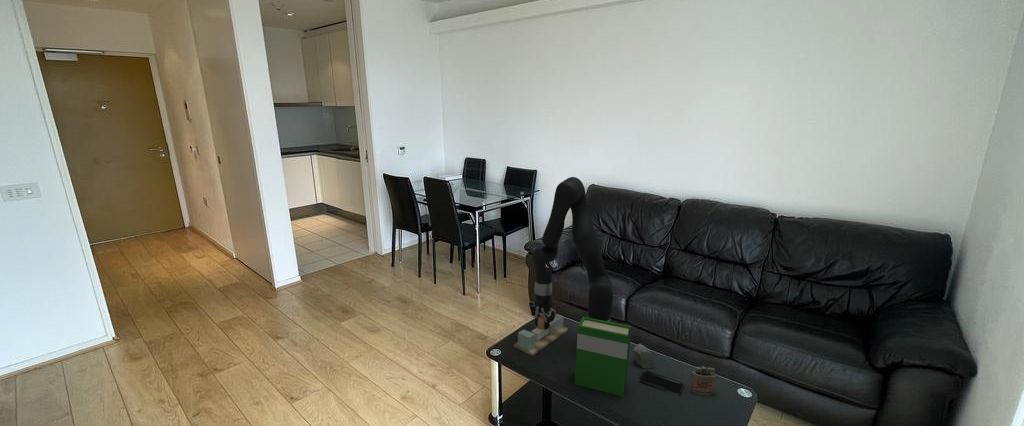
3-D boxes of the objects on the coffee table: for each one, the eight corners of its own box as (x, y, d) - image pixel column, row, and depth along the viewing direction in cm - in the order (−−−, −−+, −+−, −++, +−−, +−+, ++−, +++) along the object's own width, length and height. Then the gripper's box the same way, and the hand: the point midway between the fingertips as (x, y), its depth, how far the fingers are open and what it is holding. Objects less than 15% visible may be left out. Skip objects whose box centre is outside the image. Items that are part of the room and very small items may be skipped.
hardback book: (626, 384, 157) (631, 326, 151) (623, 396, 151) (628, 336, 145) (579, 372, 164) (582, 316, 158) (574, 384, 157) (577, 325, 151)
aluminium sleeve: (553, 323, 199) (554, 312, 197) (563, 327, 195) (563, 316, 194) (541, 331, 191) (541, 320, 190) (550, 335, 188) (551, 324, 187)
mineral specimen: (638, 354, 175) (644, 339, 172) (654, 369, 169) (660, 353, 165) (626, 359, 171) (631, 343, 168) (642, 374, 165) (648, 358, 161)
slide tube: (553, 323, 197) (553, 306, 195) (560, 326, 194) (561, 309, 192) (530, 337, 184) (531, 320, 182) (538, 341, 182) (538, 323, 180)
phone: (644, 370, 165) (684, 383, 157) (643, 372, 165) (684, 386, 157) (638, 380, 158) (680, 395, 151) (637, 383, 159) (679, 397, 151)
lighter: (690, 393, 153) (694, 369, 150) (688, 387, 156) (691, 363, 154) (714, 396, 152) (718, 371, 149) (711, 390, 155) (715, 366, 152)
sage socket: (523, 342, 182) (523, 329, 181) (534, 347, 178) (534, 334, 177) (517, 346, 180) (518, 332, 178) (529, 351, 176) (529, 337, 174)
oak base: (550, 323, 201) (550, 321, 200) (568, 330, 194) (568, 328, 194) (513, 346, 181) (513, 344, 180) (532, 355, 174) (532, 353, 174)
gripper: (524, 289, 184) (524, 325, 188) (551, 299, 175) (550, 336, 179) (535, 283, 189) (534, 318, 193) (562, 293, 180) (560, 329, 184)
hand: (542, 327), depth 186 cm, fingers closed on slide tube, 4 cm apart
